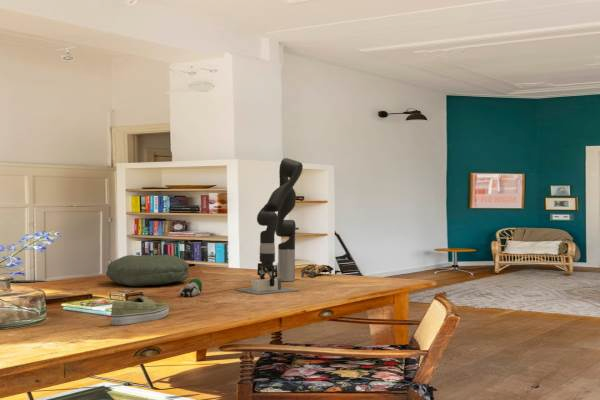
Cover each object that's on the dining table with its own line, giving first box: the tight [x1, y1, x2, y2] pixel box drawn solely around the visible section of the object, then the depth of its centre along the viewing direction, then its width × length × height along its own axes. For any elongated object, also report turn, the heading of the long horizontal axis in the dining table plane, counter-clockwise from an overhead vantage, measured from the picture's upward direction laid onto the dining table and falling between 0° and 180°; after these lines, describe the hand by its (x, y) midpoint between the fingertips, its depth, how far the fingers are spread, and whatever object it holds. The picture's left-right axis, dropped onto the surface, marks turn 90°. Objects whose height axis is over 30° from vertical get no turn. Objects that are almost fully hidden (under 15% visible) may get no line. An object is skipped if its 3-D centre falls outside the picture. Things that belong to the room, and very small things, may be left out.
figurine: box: [300, 263, 334, 278], centre depth 430 cm, size 19×6×30 cm
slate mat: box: [235, 286, 300, 296], centre depth 360 cm, size 20×24×1 cm
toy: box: [178, 278, 203, 298], centre depth 343 cm, size 9×7×15 cm
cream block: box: [251, 277, 282, 291], centre depth 359 cm, size 5×5×14 cm
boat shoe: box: [110, 296, 170, 326], centre depth 274 cm, size 10×29×9 cm, turn 153°
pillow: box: [105, 254, 190, 287], centre depth 388 cm, size 43×15×41 cm
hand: (267, 285), depth 360 cm, fingers open, 8 cm apart
